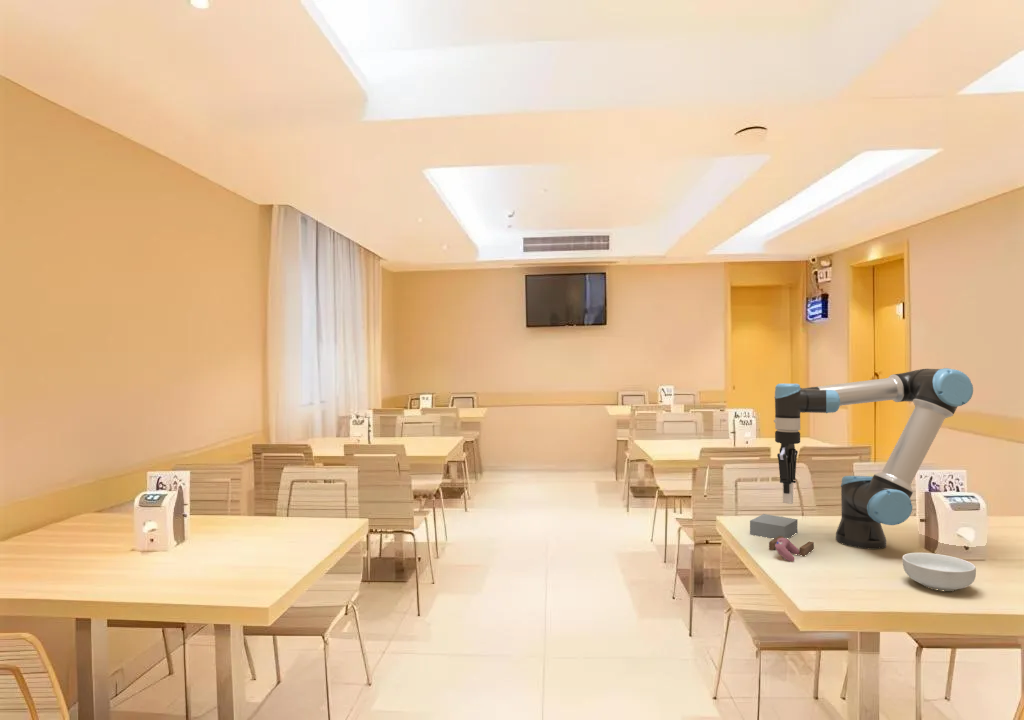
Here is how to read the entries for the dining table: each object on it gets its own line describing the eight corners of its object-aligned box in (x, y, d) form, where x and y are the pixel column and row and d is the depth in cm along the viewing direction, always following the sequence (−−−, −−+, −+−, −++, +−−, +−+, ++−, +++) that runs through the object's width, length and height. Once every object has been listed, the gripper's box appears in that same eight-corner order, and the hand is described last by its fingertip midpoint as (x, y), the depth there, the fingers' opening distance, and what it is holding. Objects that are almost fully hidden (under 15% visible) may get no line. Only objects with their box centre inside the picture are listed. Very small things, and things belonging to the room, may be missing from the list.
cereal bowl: (906, 572, 180) (906, 548, 180) (977, 585, 169) (977, 559, 169) (898, 588, 167) (898, 562, 167) (974, 603, 156) (974, 575, 156)
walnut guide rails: (813, 549, 201) (813, 542, 201) (804, 556, 194) (804, 548, 194) (779, 543, 209) (779, 535, 209) (769, 549, 201) (769, 541, 201)
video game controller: (787, 557, 198) (777, 536, 200) (801, 553, 195) (790, 532, 197) (781, 565, 190) (770, 543, 192) (795, 561, 187) (784, 539, 189)
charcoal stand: (797, 533, 222) (797, 519, 222) (784, 541, 211) (784, 526, 211) (763, 527, 230) (763, 513, 230) (749, 534, 219) (750, 520, 219)
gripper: (782, 428, 206) (782, 498, 206) (768, 431, 196) (769, 504, 196) (805, 430, 201) (806, 501, 201) (793, 433, 191) (793, 508, 191)
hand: (787, 502), depth 198 cm, fingers closed
